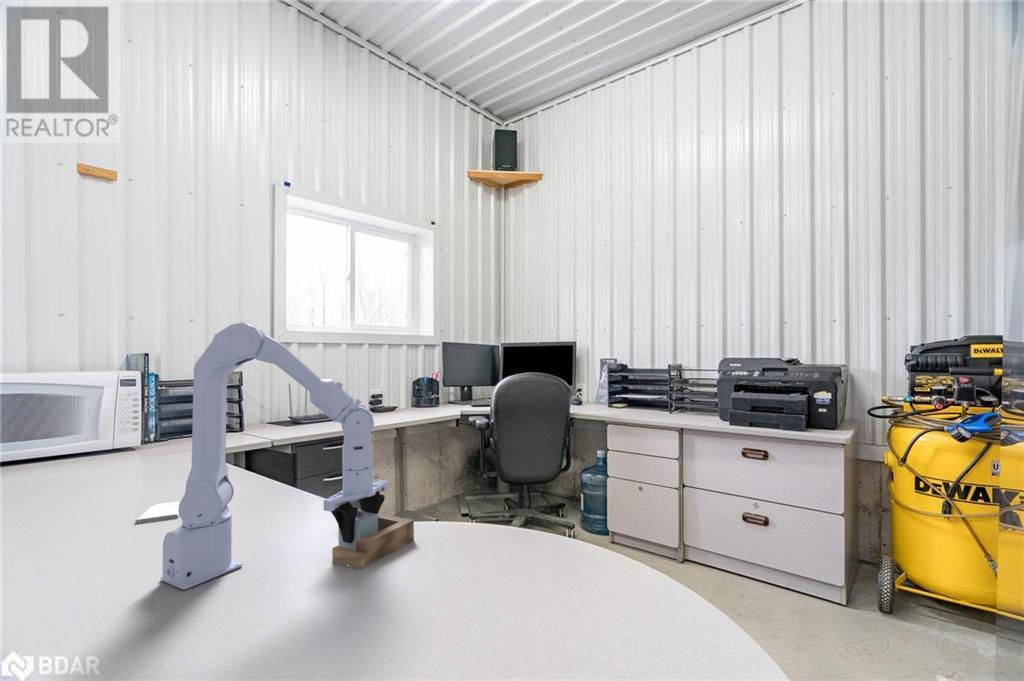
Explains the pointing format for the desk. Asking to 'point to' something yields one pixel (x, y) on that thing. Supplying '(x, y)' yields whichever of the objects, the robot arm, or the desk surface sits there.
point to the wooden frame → (377, 542)
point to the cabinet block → (361, 528)
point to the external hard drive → (160, 513)
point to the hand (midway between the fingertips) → (358, 537)
